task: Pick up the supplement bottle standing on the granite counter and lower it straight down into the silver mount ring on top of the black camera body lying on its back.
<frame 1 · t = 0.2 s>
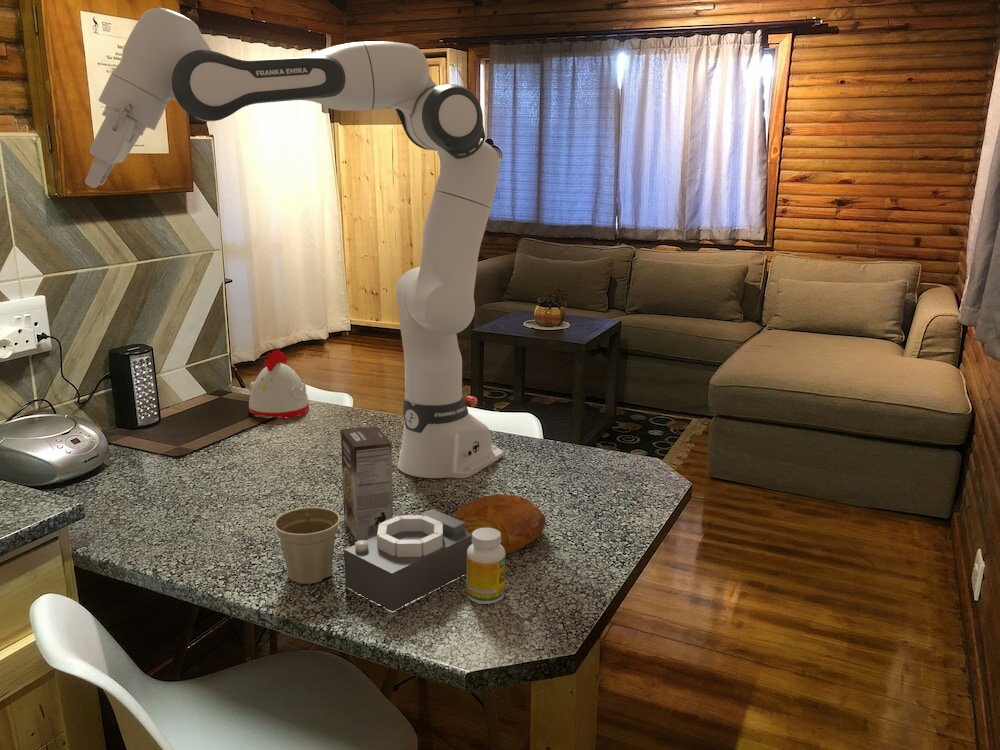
hand: (93, 185, 129), 54 cm above the table, tool tilted 30°, fingers open, 8 cm apart
coffee box: (367, 528, 135), on the table
supplement bottle: (485, 597, 114), on the table
flower pot: (309, 575, 119), on the table
kitchen timer: (279, 411, 195), on the table
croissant: (496, 539, 132), on the table
camera body: (410, 579, 118), on the table
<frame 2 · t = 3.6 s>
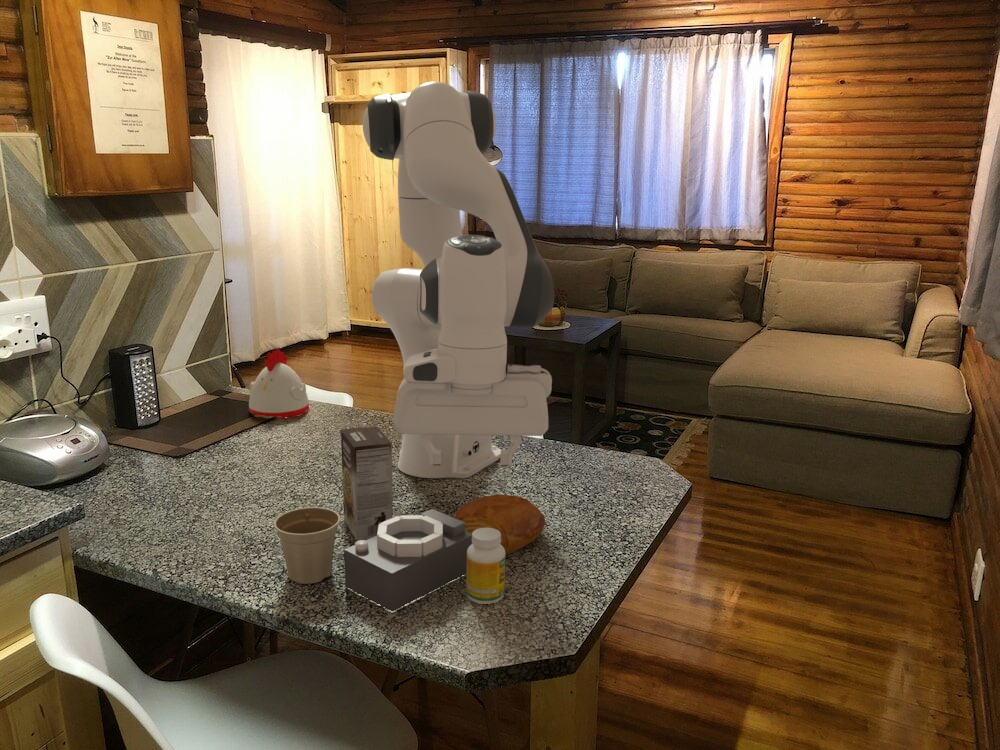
hand: (470, 464, 108), 20 cm above the table, tool pointing down, fingers open, 8 cm apart
nothing on the table moved.
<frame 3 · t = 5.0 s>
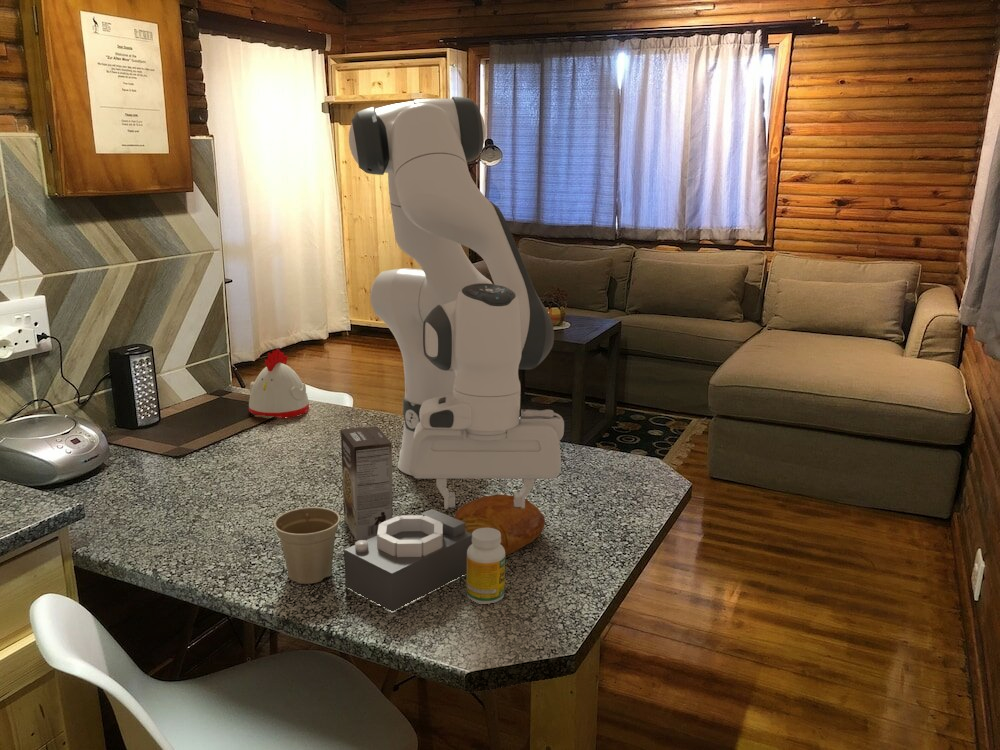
hand: (484, 507, 110), 14 cm above the table, tool pointing down, fingers open, 8 cm apart
nothing on the table moved.
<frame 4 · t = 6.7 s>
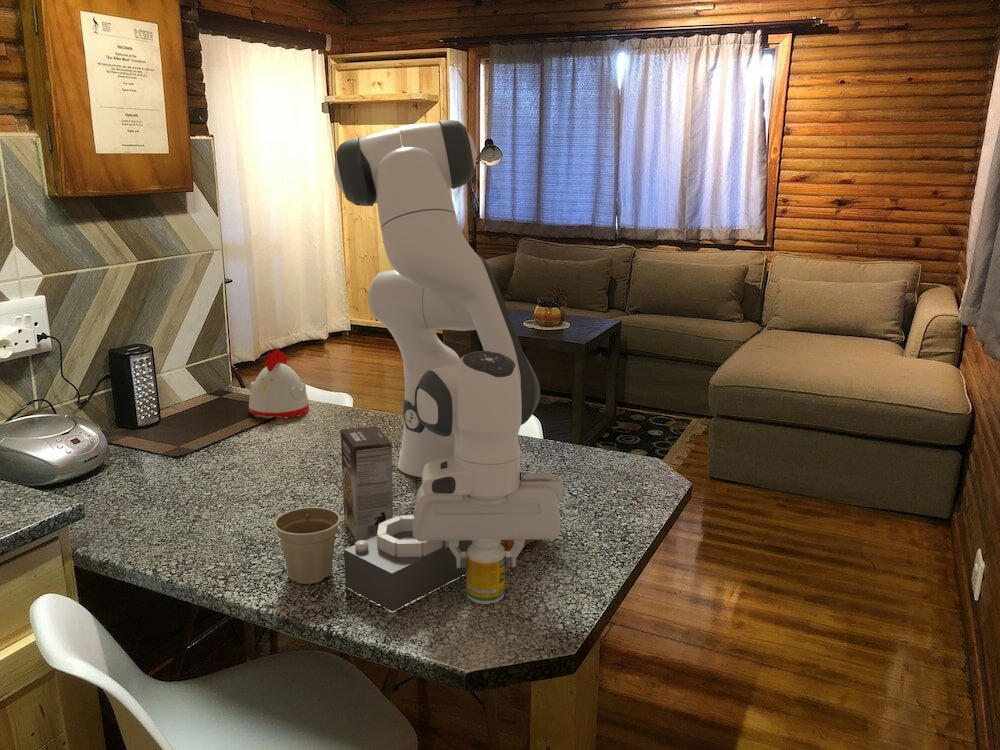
hand: (485, 566, 113), 5 cm above the table, tool pointing down, fingers closed on supplement bottle, 5 cm apart
supplement bottle: (485, 597, 114), on the table, touching gripper
everything else where it was.
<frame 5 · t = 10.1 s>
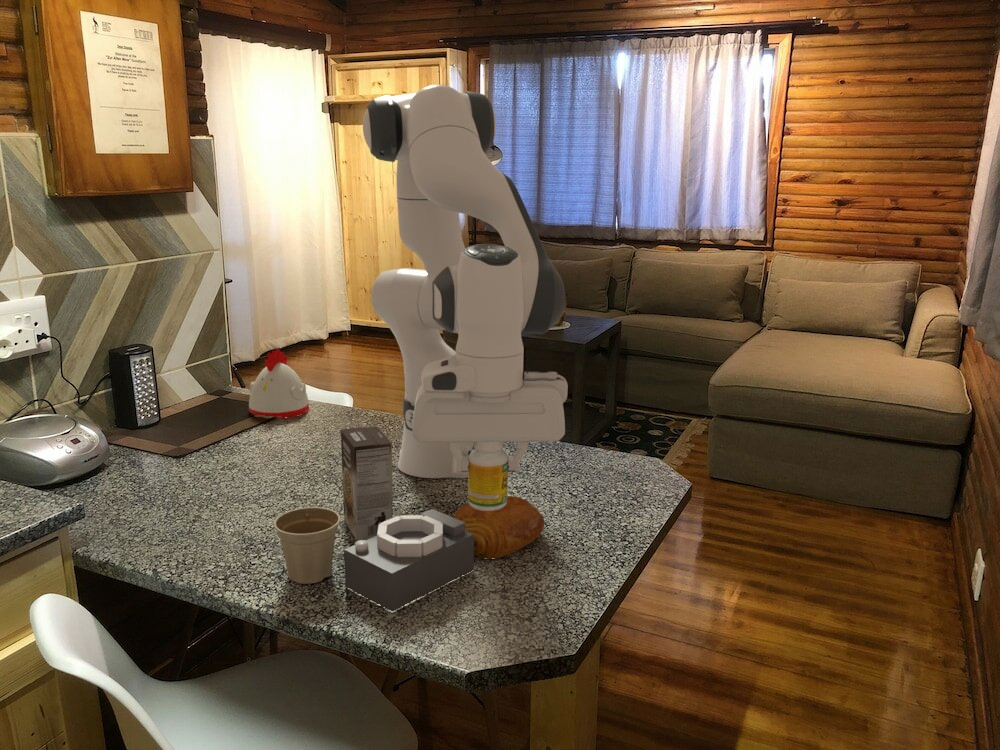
hand: (487, 470, 109), 19 cm above the table, tool pointing down, fingers closed on supplement bottle, 5 cm apart
supplement bottle: (487, 505, 111), point 14 cm above the table, touching gripper
everything else where it was.
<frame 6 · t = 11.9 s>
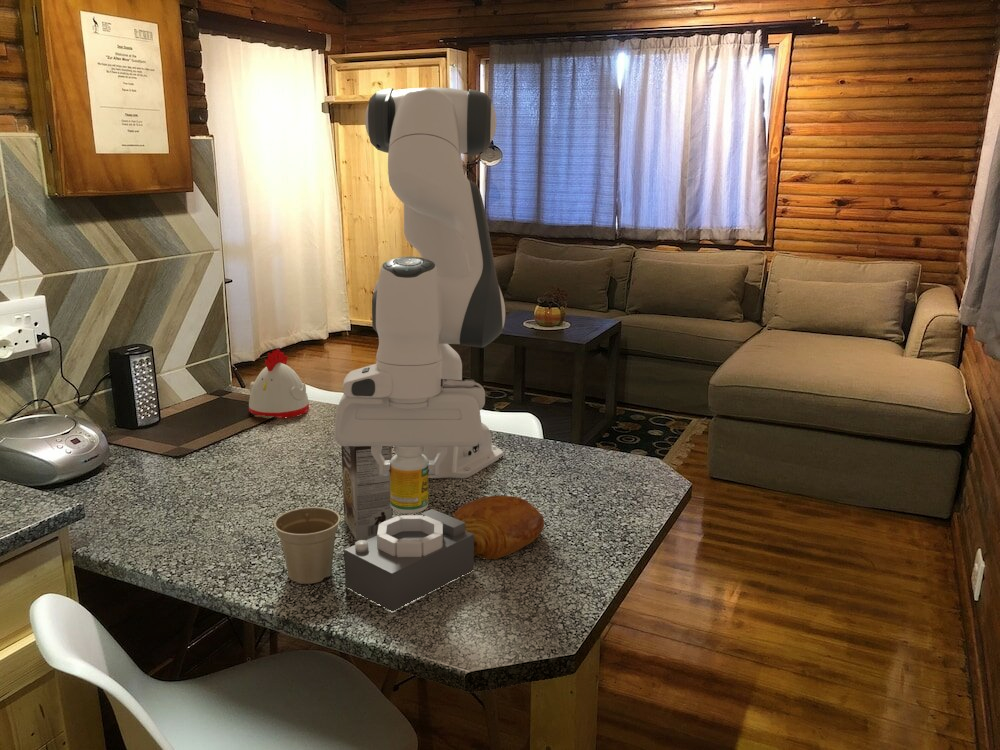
hand: (409, 474, 114), 16 cm above the table, tool pointing down, fingers closed on supplement bottle, 5 cm apart
supplement bottle: (409, 508, 115), point 11 cm above the table, touching gripper
everything else where it was.
when the fingers open (11 cm above the table, at t = 13.3 s): supplement bottle stays where it is, resting on camera body.
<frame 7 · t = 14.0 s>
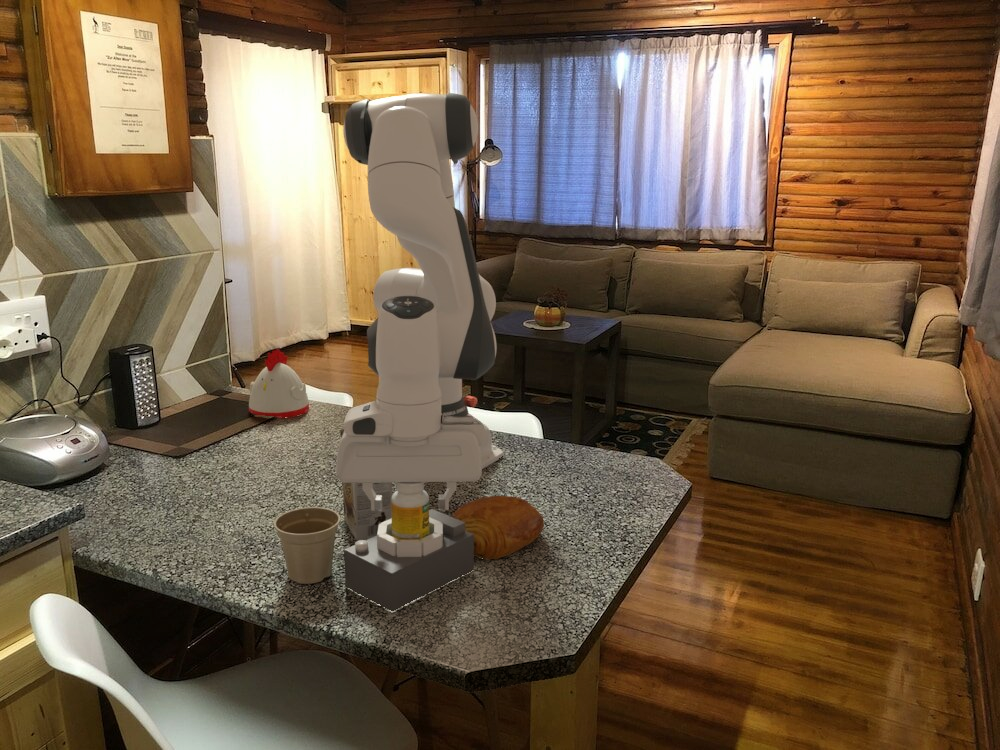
hand: (410, 508, 115), 11 cm above the table, tool pointing down, fingers open, 8 cm apart
supplement bottle: (410, 542, 117), point 6 cm above the table, touching camera body
everything else where it was.
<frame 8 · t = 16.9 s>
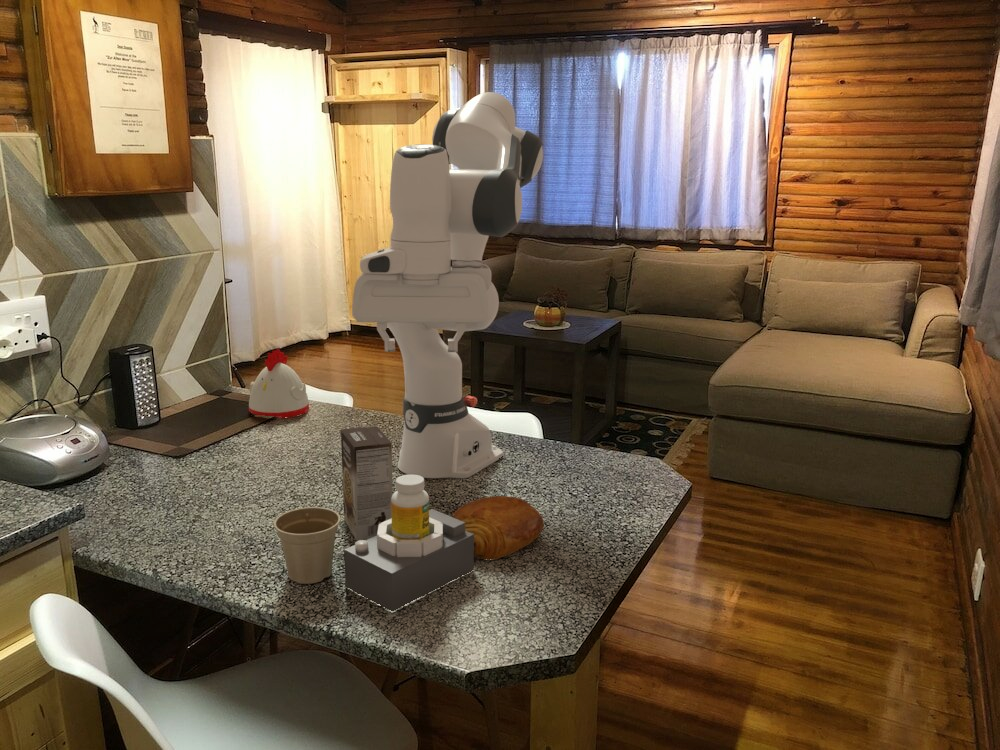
hand: (421, 351, 122), 31 cm above the table, tool pointing down, fingers open, 8 cm apart
nothing on the table moved.
at the end: supplement bottle 0.0 cm off-centre on the camera body, point 5.8 cm above the camera body's base; supplement bottle tilted 0°; the gripper is holding nothing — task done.
